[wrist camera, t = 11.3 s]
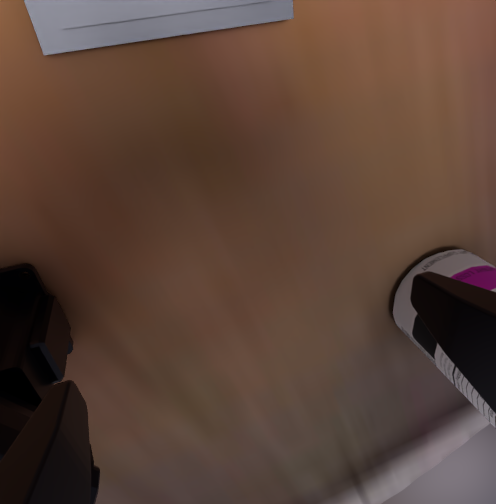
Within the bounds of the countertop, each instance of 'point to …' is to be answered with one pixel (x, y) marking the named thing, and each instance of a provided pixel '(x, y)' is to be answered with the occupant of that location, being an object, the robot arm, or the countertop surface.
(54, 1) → the kitchen sink with drainboard
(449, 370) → the supplement can
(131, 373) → the countertop surface
